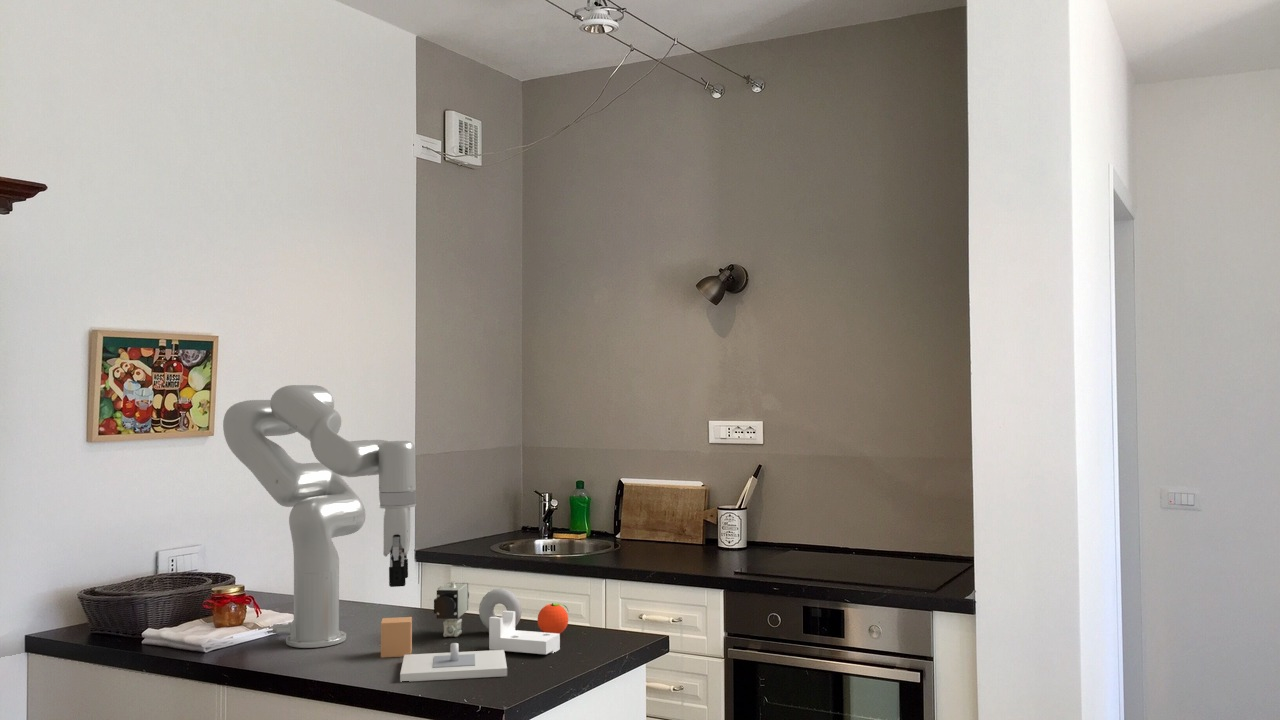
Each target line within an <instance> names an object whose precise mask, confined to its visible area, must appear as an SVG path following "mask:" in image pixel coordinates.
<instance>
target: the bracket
mask: <svg viewBox="0 0 1280 720" xmlns="http://www.w3.org/2000/svg"><path fill="white" fill-rule="evenodd" d="M488 634H489V635H488V637H489V638H488V642H489V643H488V644H489V645H488V646H489V647H488V648H489V651H490V650H504V652H514V653H524V654H525V653H526V654H537V655H548V654H554V652H555V653H556V652H558V651H559V650H561V647H560V646H561V633H560V634H557V633H545V632H542V631H532V630H531V631H530V630H518V629H517V630H516V626H515V611H507V610H503V611H502V615H501V617H499V616H497V617H490V618H489V629H488Z"/></svg>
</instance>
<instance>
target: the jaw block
mask: <svg viewBox="0 0 1280 720" xmlns="http://www.w3.org/2000/svg"><path fill="white" fill-rule="evenodd" d="M412 627H413V617H412V616H404V617H403V616H402V617H400V616H399V617H383V618H382V619H381V622H380V658H398V657H399V658H400V657H404V655H409V654H412V650H413V642H412V641H413V639H412V638H413V628H412Z"/></svg>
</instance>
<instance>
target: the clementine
mask: <svg viewBox="0 0 1280 720" xmlns="http://www.w3.org/2000/svg"><path fill="white" fill-rule="evenodd" d="M565 608H566V609H567V610H566V609H565ZM569 611H570V610H569V609H568V606H566V605H565V604H561V603H556V602H555V603H550V604H546V605H544V606H543V607H542V608H541V609H540V611H539V612H538V615H537V626H538V628H539V629H540V632H545V633H557V634H560V635H561V634H562V633H563V632H564V631H565V630H566V628H567V626H568V624H569V615H568V613H570V612H569Z"/></svg>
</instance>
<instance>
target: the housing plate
mask: <svg viewBox="0 0 1280 720" xmlns="http://www.w3.org/2000/svg"><path fill="white" fill-rule="evenodd" d="M449 646H450V649H449V651H450V652H436V653H435V652H433V653H432V652H431V653H411V654H409V655H404V656H403V659H402V664H401V669H400V673H399V682H400V683H403V682H402V681H409V682H424V681H440V680H441V681H443V680H461V679H478V678H481V679H482V678H496V677H497V678H498V677H508V666H507V659H506V653H505V652H506V651H504V650H490V649H489V650H477V651H476V650H475V651H474V650H472V651H470V650H469V651H459V649H460V648H459V646H460V645H459V643H457V642H452V643H450V645H449Z"/></svg>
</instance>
